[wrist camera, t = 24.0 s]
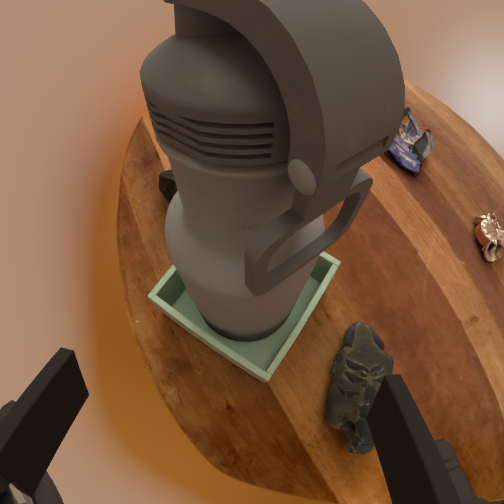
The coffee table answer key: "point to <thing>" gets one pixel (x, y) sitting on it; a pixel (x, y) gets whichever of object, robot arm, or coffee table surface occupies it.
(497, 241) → the ornament
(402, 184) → the coffee table surface
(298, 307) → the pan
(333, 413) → the stone
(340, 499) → the coffee table surface
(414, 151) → the snack package
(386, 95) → the water bottle
